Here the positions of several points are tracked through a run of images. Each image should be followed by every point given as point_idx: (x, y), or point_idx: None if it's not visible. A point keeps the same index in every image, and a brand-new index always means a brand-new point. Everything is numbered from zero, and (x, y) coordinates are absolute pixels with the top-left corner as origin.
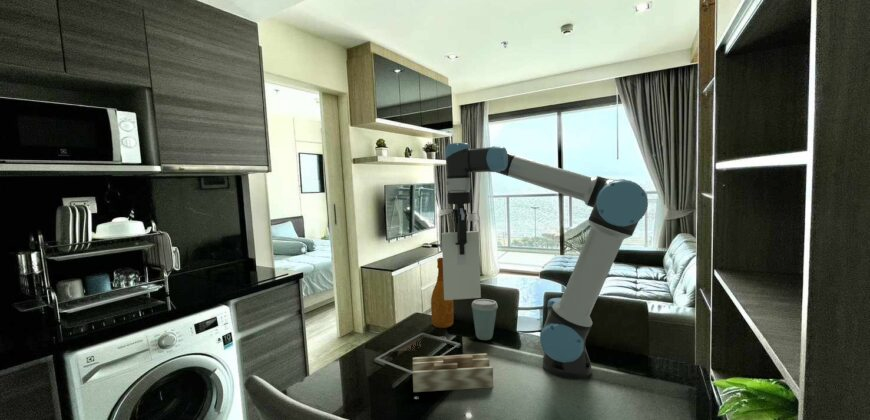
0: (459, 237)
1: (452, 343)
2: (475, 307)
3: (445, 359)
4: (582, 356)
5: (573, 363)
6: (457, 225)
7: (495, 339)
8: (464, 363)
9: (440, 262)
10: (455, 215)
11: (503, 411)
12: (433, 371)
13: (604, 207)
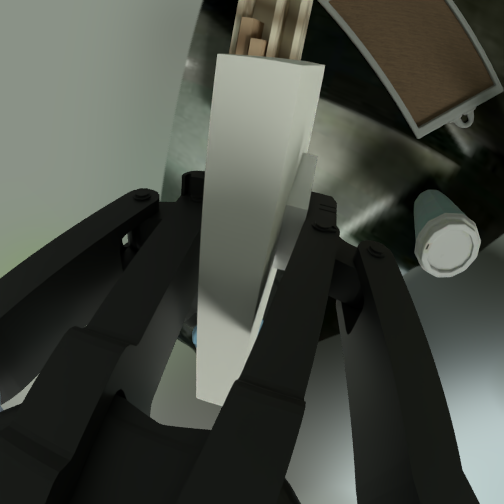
0: (96, 214)
1: (427, 123)
2: (444, 216)
3: (250, 41)
4: None
5: None
6: (97, 312)
7: (408, 219)
8: None
9: None
10: (11, 429)
11: (176, 113)
12: (236, 14)
13: None
